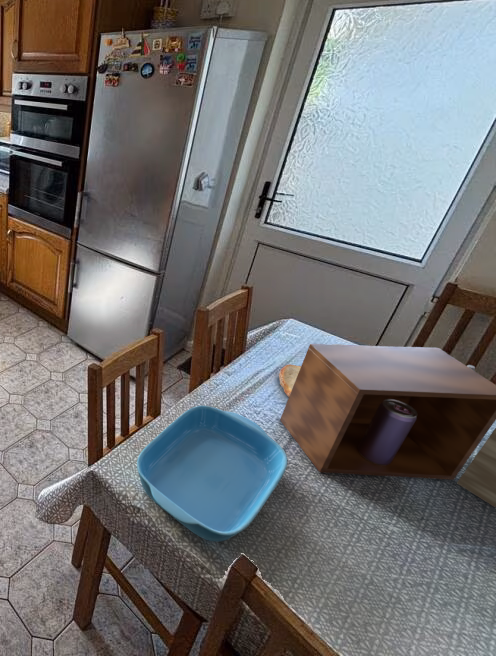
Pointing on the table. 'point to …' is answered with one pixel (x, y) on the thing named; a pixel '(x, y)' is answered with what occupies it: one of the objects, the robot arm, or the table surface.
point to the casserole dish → (212, 471)
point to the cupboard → (371, 390)
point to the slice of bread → (288, 377)
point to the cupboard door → (482, 472)
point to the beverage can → (387, 431)
